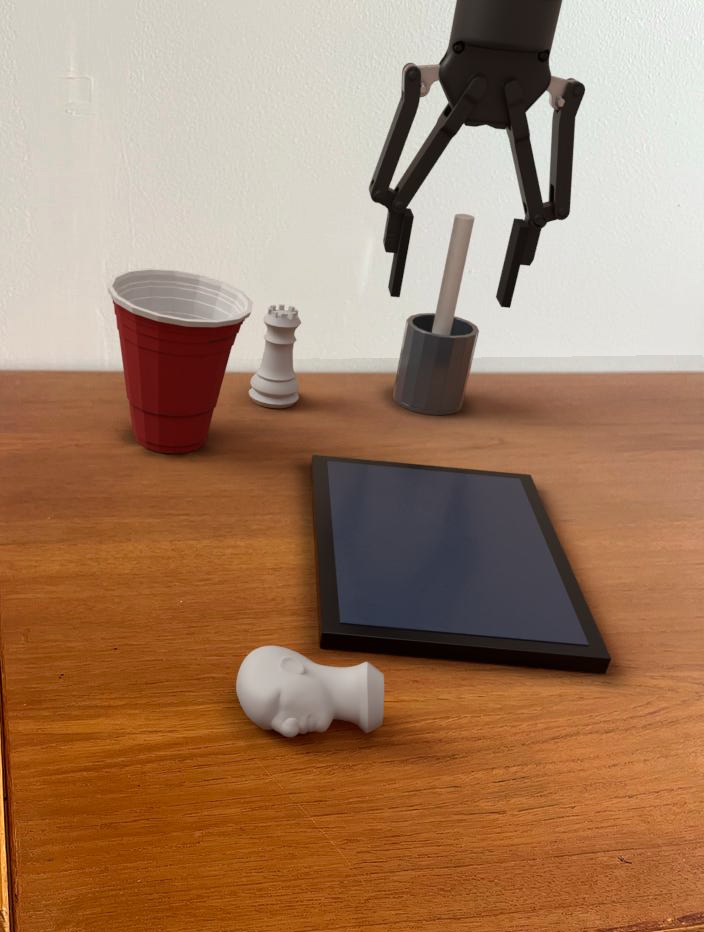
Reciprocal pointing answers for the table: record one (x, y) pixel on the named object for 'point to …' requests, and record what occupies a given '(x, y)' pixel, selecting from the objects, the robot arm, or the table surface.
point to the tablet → (445, 567)
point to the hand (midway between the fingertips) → (448, 297)
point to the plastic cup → (174, 351)
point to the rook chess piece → (277, 361)
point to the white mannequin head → (307, 692)
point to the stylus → (453, 273)
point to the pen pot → (434, 365)
